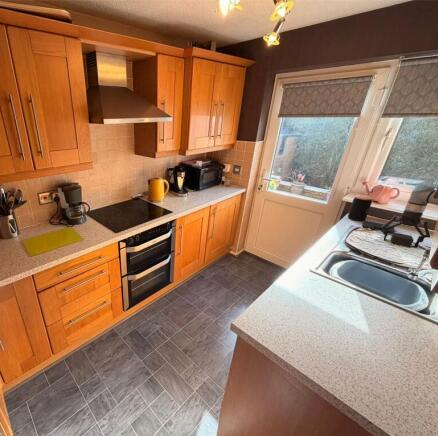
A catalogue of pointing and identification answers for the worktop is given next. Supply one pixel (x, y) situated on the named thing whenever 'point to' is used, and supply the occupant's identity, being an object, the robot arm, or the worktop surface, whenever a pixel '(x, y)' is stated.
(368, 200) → the coffee jar
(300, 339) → the worktop surface
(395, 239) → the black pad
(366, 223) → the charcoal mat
